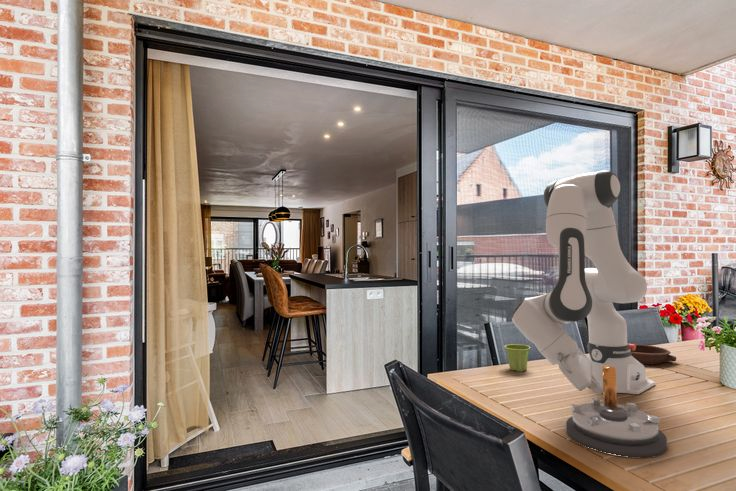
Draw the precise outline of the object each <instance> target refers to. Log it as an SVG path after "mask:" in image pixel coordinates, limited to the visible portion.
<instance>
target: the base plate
mask: <svg viewBox="0 0 736 491" xmlns="http://www.w3.org/2000/svg"><path fill="white" fill-rule="evenodd" d="M565 424H566V428H565V429H566V433H568V434H567V435H568V437H569V436H570V437H571V438H572V439H573V440H572V439H571V440H572V441H574V440H575V441H576V442H575V441H574V442H575V443H577V442H578V443H580V444H582V445H584V446H586V447H589V448H593V449H596V450H598V451H602V452H606V453H611V454H616V455H621V456H628V457H651V458H654V457H653V456H656V457H659V456H662V455H663V454H665V453H666V451H667V450H668V449H667V448H668V439H667V436H666V435H665V434H664V432H663V431H662V430H660V429H659V428H658V434H659V438H658V440H657V441H655V442H654V443H651V444H647V445H621V444H614V443H609V442H605V441H601V440H598V439H595V438H592V437H589V436H587V435H585V434H583V433H581V432H580V431H578V430H577V429H576V428H575V427H574V425H573V415H572V416H570V417H568V418H567V419H566V423H565ZM570 437H569V438H570ZM578 443H577V444H578ZM580 444H579V445H580ZM582 445H581V446H582ZM584 446H583V447H584ZM586 447H585V448H586ZM589 448H588V449H589ZM658 455H659V456H658Z"/></svg>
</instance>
